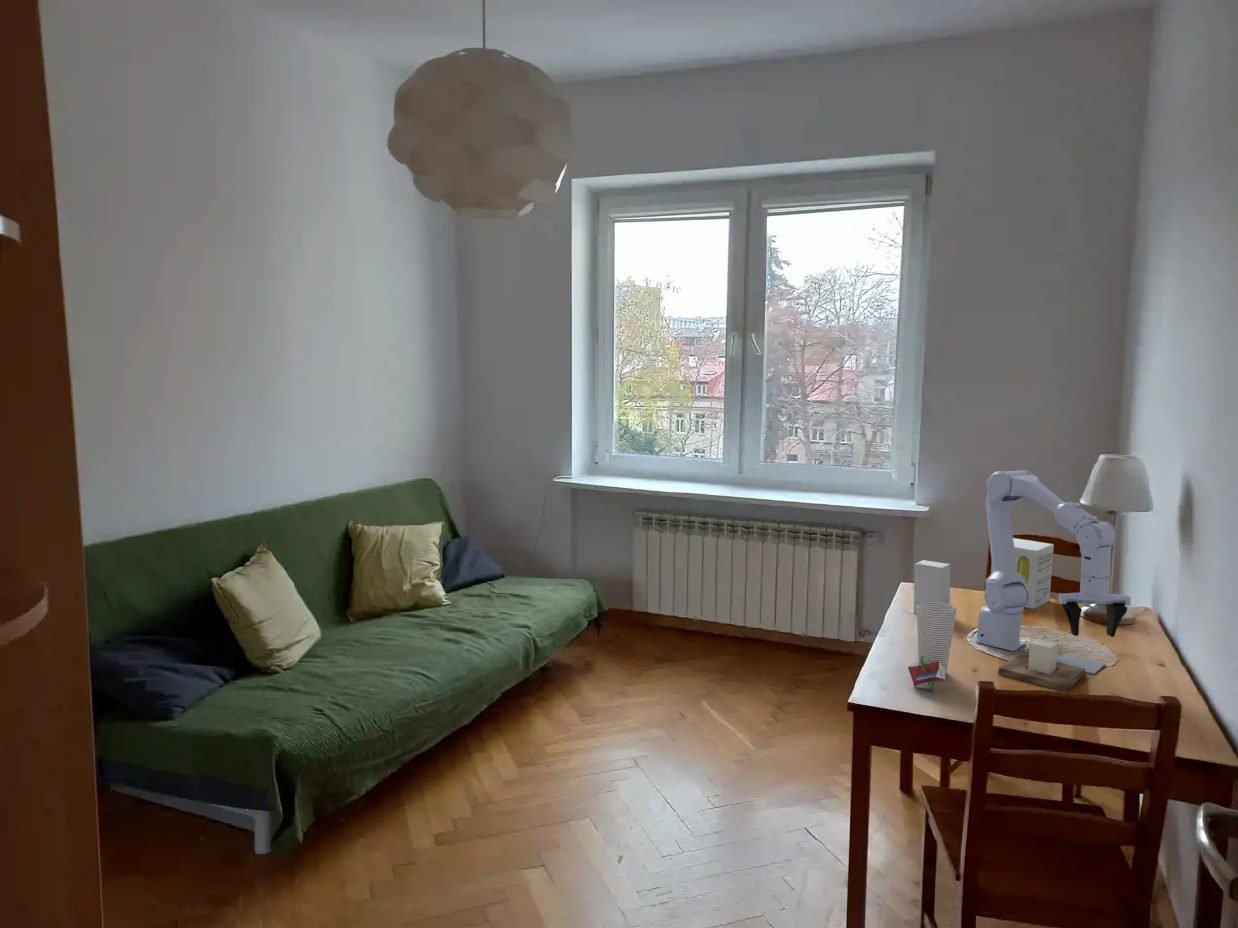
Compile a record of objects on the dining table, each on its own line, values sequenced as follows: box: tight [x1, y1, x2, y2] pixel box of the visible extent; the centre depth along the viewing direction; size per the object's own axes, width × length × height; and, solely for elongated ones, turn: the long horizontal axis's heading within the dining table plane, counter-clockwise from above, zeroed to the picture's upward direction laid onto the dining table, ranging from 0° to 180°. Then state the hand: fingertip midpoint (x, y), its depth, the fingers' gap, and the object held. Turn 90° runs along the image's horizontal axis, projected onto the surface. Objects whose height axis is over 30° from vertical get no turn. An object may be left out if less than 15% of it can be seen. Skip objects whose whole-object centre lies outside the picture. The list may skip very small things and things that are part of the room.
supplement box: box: [990, 537, 1055, 609], centre depth 253 cm, size 13×13×18 cm
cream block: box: [1028, 638, 1059, 675], centre depth 193 cm, size 4×4×8 cm
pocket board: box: [997, 652, 1086, 692], centre depth 193 cm, size 14×14×2 cm
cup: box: [916, 601, 957, 675], centre depth 193 cm, size 8×8×16 cm
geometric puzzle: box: [907, 657, 947, 693], centre depth 184 cm, size 7×7×8 cm
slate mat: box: [1056, 653, 1106, 676], centre depth 200 cm, size 9×9×1 cm
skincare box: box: [913, 559, 951, 615], centre depth 237 cm, size 8×6×15 cm
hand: (1092, 635), depth 191 cm, fingers open, 7 cm apart
